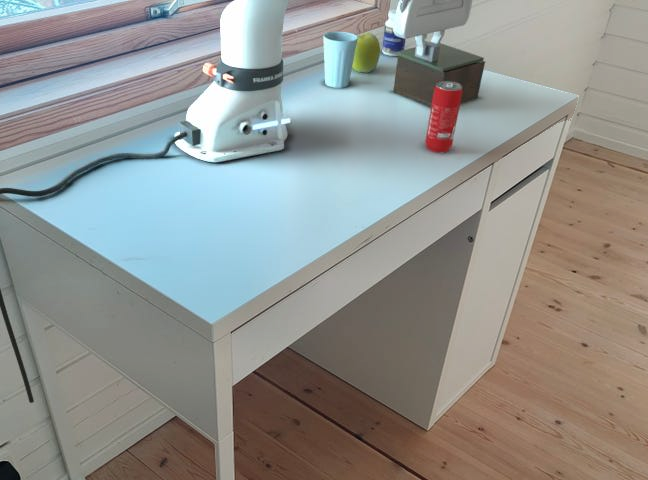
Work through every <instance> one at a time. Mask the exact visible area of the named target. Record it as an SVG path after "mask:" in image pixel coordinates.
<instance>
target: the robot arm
mask: <svg viewBox="0 0 648 480" xmlns="http://www.w3.org/2000/svg"><path fill="white" fill-rule="evenodd" d="M290 1H291V0H233V1H231V2H229V4H227V6H226V7H224V10H223V11H222V13H221V16H220V49H221V50H220V52H221V53H220V55H221V57H220V58H219V60H218V63H217V66H216V65H215V64H212V63H211V62H205V63H204V64H203V66H202V72H203V73H204V74H205V75H208V76H209V77H213V82H212V83H211V84H210V85H209V87H207V88H206V90H204V92H203V93H202V94H200V96H199V97H198V98H197V99H196V100H195V101H194V102H193V103H192V104H191V105H190V106H189V108H188V109H187V113H186V117H185V118H186V119H185V120H183V121H179V122H178V130H179V131H178V132H176V133H175V134H174V136H173V137H172V138H170V139H169V140H168V141H166V144H165V145H164V148H163V149H162V150H160V151H158V152H156V153H149V154H144V153H135V152H116V153H112V154H108V155H104V156H101V157H99V158H96V159H94V160H91V161H90V162H87V163H85V164H83V165H81V166H80V167H78V168H75V169H74V170H72V171H71V172H69V173H68V174H67V175H65V176H64V178H62V179H61V180H60V181H59V182H58V183H56V184H55V185H53V186H50V187H48V188H46V189H45V188H44V189H42V190H41V189H40V190H26V189H21V188H13V187H0V195H2V194H11V195H17V196H18V195H19V196H24V197H34V198H38V197H45V196H47V195H48V196H49V195H51V194H54V193H55V192H58V191H59V190H61V189H62V188H64V187H65V186H66V185H67V184H68V183H69V182H70V181H72V180H73V179H74V178H76V177H77V176H78V175H80V174H83V173H84V172H86V171H88V170H90V169H92V168H93V167H96V166H98V165H100V164H102V163H105V162H106V163H107V162H109V161H112V160H116V159H141V160H142V159H143V160H144V159H147V160H148V159H160V158H161V157H164V156H166V155H167V154H168V153H169V151H170V149H171V147H172V145H174V144H175V145H176V146H177V147H178V148H179V149H180V150H181V151H183V152H185V154H188V155H190V156H191V157H193V158H196V159H198V160H202V161H204V162H209V163H221V162H227V161H232V160H236V159H242V158H246V157H251V156H257V155H263V154H268V153H272V152H278V151H282V150H284V149H285V141H286V139H287V138H288V134H289V133H288V130H287V126H286V124H289V123H291V118H288V117H287V118H285V117H284V116H285V115H284V108H283V98H282V97H283V96H282V95H283V94H282V82H283V81H284V60H283V58H282V48H283V47H282V46H283V31H284V22H285V15H286V12H287V8H288V6H289V3H290ZM472 4H473V0H399V2H398V3H397V7H396V9H395V10H396V15H395V20H394V25H393V32H394V34H395V35H396V36H398V37H401V38H404V39H406V40H408V39H411V38H414V41H415V43H416V44H417V52H416V53H417V55H420V56H423V55H426V54H427V50H428V46H426V45H425V41H426V40H427V38H428V34H433V35H432V38H431V40H430V41H429V42H430V43H433V44H436V45H439V43H441V41H442V39H443V38H444V36H445V33H446V32H445V31H446V30H450V29H453V28H457V27H462V26H465V25H466V24H467V22H468V20H469V19H470V13H471V10H472ZM416 44H415V45H416ZM0 311H1V315H2V318H3V321H4V325H5V327H6V330H7V333H8V336H9V340H10V343H11V346H12V349H13V352H14V355H15V358H16V362H17V364H18V369H19V371H20V374H21V378H22V381H23V384H24V387H25V391H26V394H27V398H28V402H29V403H30V404H32V403H34V402H35V400H34V395H33V392H32V389H31V385H30V382H29V377H28V374H27V372H26V368H25V365H24V362H23V358H22V355H21V352H20V349H19V346H18V343H17V340H16V337H15V334H14V330H13V327H12V324H11V321H10V317H9V314H8V310H7V307H6V303H5V300H4V296H3V293H2V289H1V288H0Z"/></svg>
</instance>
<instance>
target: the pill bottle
mask: <svg viewBox="0 0 648 480" xmlns="http://www.w3.org/2000/svg"><path fill="white" fill-rule="evenodd" d="M396 10H397V9H390V10H389V11H388V14H387V17H388V19H387V20H386V21H385V23H384V31H383V38H382V46H381V52H382V54H383V55H386V56H390V57H398V55H396V52H398V51H402V50H405V46H406V40H407V39H404V38H401V37H398V36H396V35H395V34H394V32H393V25H394V20H395V15H396Z"/></svg>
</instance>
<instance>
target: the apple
mask: <svg viewBox="0 0 648 480" xmlns="http://www.w3.org/2000/svg"><path fill="white" fill-rule="evenodd" d="M366 31H367V28H366V29H365V30H364V32H363V33H362V34H359V35H356V36H357V37H358V40H357V45H356V50H355V55H354V60H353V65H352V69H353V70H355V71H356V72H357V73H358V72H359V73H360V72H361V73H367V74H368V73H370V72H372V71H374V70H375V68H377V66H378V63H379V59H380V55H381V46H380V40H379V39H378V37H377V36H376V35H374V34H373V33H371V32H366Z"/></svg>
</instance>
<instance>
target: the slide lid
mask: <svg viewBox="0 0 648 480" xmlns="http://www.w3.org/2000/svg"><path fill="white" fill-rule="evenodd" d="M430 42H431V41H427V40H425V45H426V46H428V50H427V54H426V55H423V56H420V55H417V53H416V52H417V44H415V47H410V48H406V49H404V50H402V51H398V52H396V55H398V56H401V57H404V58H406V59H409V60H412V61H415V62H417V63H420V64H423V65H425V66H428V67H431V68H434V69H436V70H439V71H442V72H444V71H447V70H451V69H454V68H458V67H462V66H465V65H469V64H472V63H476V62H480V61H485V60H484V59H485V57H483V56H481V55H477V54H475V53H471V52H468V51H465V50H463V49H460V48H456V47H453V46H451V45H447V44H444V43H441V42H440V43H439V45H436V44H433V43H430ZM398 56H397V57H398Z"/></svg>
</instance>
